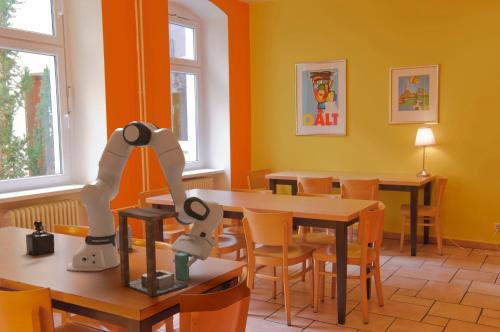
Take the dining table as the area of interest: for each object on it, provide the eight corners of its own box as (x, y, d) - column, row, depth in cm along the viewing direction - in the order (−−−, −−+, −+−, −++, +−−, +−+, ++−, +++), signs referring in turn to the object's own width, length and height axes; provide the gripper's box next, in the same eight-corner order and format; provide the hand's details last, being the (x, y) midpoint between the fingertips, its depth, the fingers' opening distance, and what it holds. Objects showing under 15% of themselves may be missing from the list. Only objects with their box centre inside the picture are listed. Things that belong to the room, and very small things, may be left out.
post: (183, 276, 202) (182, 252, 201) (189, 278, 199) (188, 254, 198) (175, 278, 199) (174, 254, 198) (181, 280, 196) (180, 255, 195)
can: (118, 247, 254) (117, 224, 253) (133, 246, 254) (132, 224, 253) (115, 250, 246) (114, 227, 245) (130, 250, 247) (129, 226, 246)
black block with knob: (24, 253, 245) (22, 217, 243) (46, 249, 252) (45, 214, 251) (36, 258, 234) (35, 221, 232) (59, 254, 241) (57, 218, 240)
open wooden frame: (149, 276, 199) (146, 206, 197) (180, 287, 185) (178, 212, 183) (120, 283, 190) (117, 211, 188) (151, 296, 175) (149, 217, 173)
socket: (157, 276, 202) (157, 265, 202) (188, 286, 188) (188, 275, 188) (124, 285, 191) (123, 274, 190) (153, 297, 177) (153, 285, 176)
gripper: (178, 228, 210) (160, 255, 203) (210, 235, 195) (192, 264, 189) (187, 237, 213) (169, 263, 207) (218, 244, 199) (201, 273, 193)
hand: (180, 264), depth 198 cm, fingers open, 7 cm apart
